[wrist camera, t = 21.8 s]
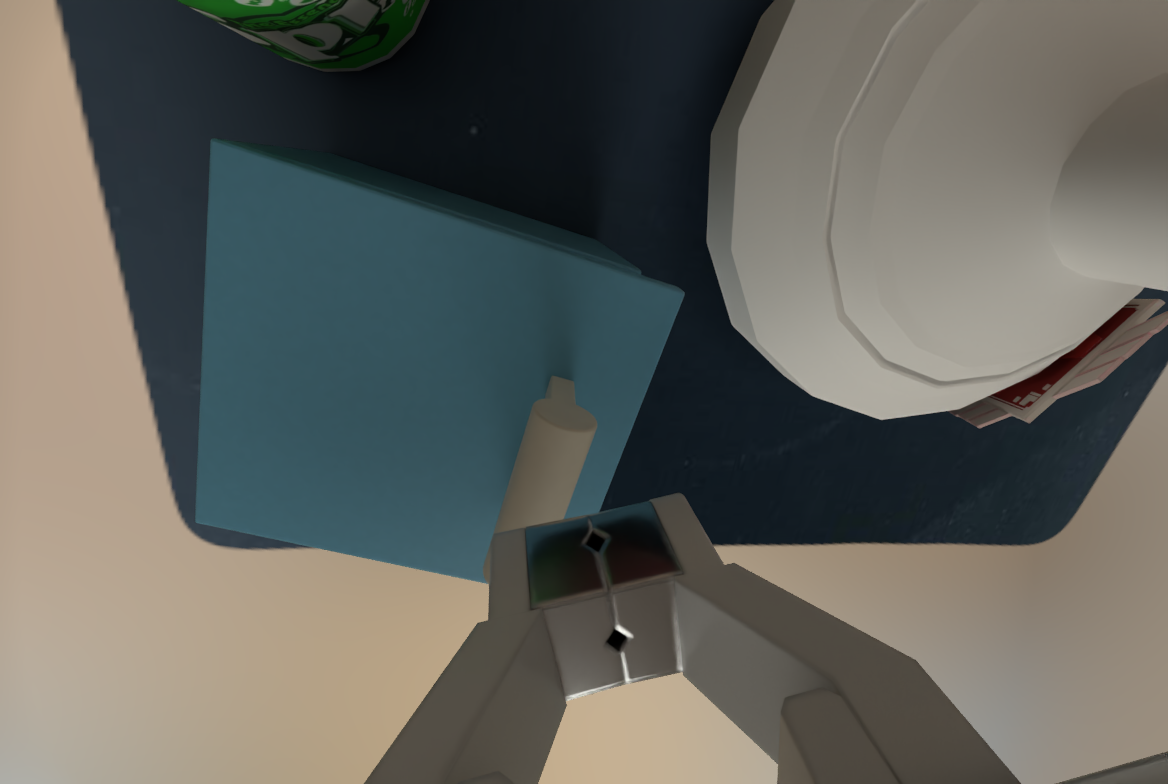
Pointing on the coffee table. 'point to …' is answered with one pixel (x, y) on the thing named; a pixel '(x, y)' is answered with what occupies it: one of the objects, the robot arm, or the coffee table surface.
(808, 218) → the candle holder
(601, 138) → the coffee table surface
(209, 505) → the lid
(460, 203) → the box
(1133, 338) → the decorative emblem
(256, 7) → the soda can
